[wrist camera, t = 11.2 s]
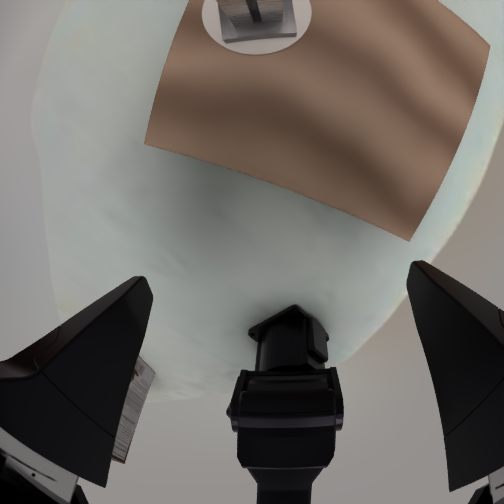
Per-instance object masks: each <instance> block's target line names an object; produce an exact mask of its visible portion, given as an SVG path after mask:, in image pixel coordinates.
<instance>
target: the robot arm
mask: <svg viewBox="0 0 504 504" xmlns="http://www.w3.org/2000/svg"><path fill="white" fill-rule="evenodd" d="M406 286H407V291H408V295H409V299H410V302H411V306H412V311H413V315H414V319H415V323H416V327H417V330H418V333H419V336H420V339H421V343H422V345H423V349H424V352H425V356H426V359H427V363H428V366H429V370H430V373H431V377H432V381H433V385H434V390H435V393H436V398H437V403H438V407H439V412H440V418H441V423H442V429H443V434H444V443H445V450H446V458H447V469H448V481H449V491H450V492H452V491H454V490H456V489H459V488H461V487H464V486H466V485H468V484H471V483H473V482H475V481H477V480H479V479H481V478H483V477H485V476H487V475H488V480H489V483H488V484H486V485H484V486H482V487H481V488H479V489H477V490H476V491H475V493H474V494H473V496H472V498H471V499H470V501H469V503H468V504H504V311H503V310H501V309H498V307H496V306H495V305H494V304H492V303H491V302H489V301H488V300H486V299H485V298H483V297H482V296H480V295H479V294H477V293H476V292H474V291H473V290H471V289H470V288H468V287H466V286H465V285H463V284H462V283H460V282H458V281H457V280H455V279H454V278H452V277H450V276H449V275H447V274H445V273H444V272H442V271H440V270H439V269H437V268H435V267H434V266H432V265H430V264H429V263H427V262H425V261H423V260H420V261H413V262H412V263H411V265H410V269H409V274H408V278H407V283H406ZM152 303H153V294H152V291H151V289H150V287H149V284H148V282H147V279H146V278H145V277H144V276H134V277H132V278H130V279H129V280H127V281H126V282H124V283H123V284H121V285H119V286H118V287H116V288H115V289H113V290H112V291H110V292H109V293H107V294H106V295H104V296H103V297H101V298H100V299H98V300H97V301H95V302H94V303H92V304H91V305H89V306H88V307H86V308H85V309H83V310H82V311H80V312H79V313H77V314H76V315H74V316H73V317H71V318H70V319H68V320H67V321H66V322H64V323H63V324H61V326H58V327H57V328H55V329H54V330H53V331H51V332H50V333H48V334H47V335H45V336H44V337H43V338H41V339H39V340H38V341H36V342H35V343H33V344H32V345H30V346H28V347H27V348H25V349H24V350H22V351H20V352H19V353H17V354H16V355H14V356H13V357H11V358H9V359H7V360H4V361H0V504H89V503H88V501H87V499H86V497H85V495H84V492H83V490H82V488H81V486H79V485H78V484H77V481H78V478H79V477H81V478H83V479H85V480H87V481H90V482H92V483H94V484H96V485H99V486H101V487H104V488H105V487H106V484H107V479H108V473H109V468H110V463H111V458H112V453H113V449H114V444H115V440H116V439H115V438H116V435H117V431H118V427H119V423H120V419H121V415H122V411H123V407H124V403H125V400H126V396H127V393H128V389H129V385H130V382H131V379H132V375H133V372H134V369H135V365H136V362H137V359H138V356H139V353H140V349H141V346H142V343H143V340H144V337H145V333H146V329H147V324H148V320H149V315H150V311H151V307H152ZM293 310H296V311H293ZM248 335H249V336H250V337H251V338H252V339H254V340H255V341H256V342H258V346H257V355H256V365H255V371H247V370H241V373H240V376H238V379H237V382H236V386H235V389H234V392H233V396H232V399H231V403H230V404H229V406H228V408H227V411H226V413H227V416H228V417H229V418H230V419H231V425H232V430H233V431H234V432H238V433H237V434H238V435H237V437H238V438H237V458H238V460H239V462H240V463H241V466H242V467H243V468H247V469H248V470H249V472H250V473H251V475H252V476H253V478H254V479H255V481H256V482H257V484H258V485H257V504H311V489H312V483H313V481H314V480H315V479H316V477H317V476H318V475H319V473H320V472H321V471H322V469H323V468H326V467H327V466H328V465H329V463H330V461H331V460H332V458H333V456H334V451H335V438H336V431H339V430H341V429H342V425H343V417H344V406H343V397H342V392H341V387H340V383H339V378H338V374H337V370H336V367H330V368H327V369H325V362H327V361H328V351H327V341H328V340H329V335H328V334H327V333H326V332H325V329H324V328H323V327H321V326H320V325H319V324H318V323H317V322H316V321H315V320H314V319H313V318H311V317H309V316H308V315H307V314H306V313H305V312H304V311H303V310H302V309H301V308H300V307H298V306H296V305H294V306H291V307H289V308H288V309H286V310H284V311H282V312H281V313H279V314H277V315H275V316H273V317H272V318H270V319H268V320H266V321H264V322H263V323H261V324H259V325H257V326H255V327H253V328H251V329H250V330H249V331H248Z"/></svg>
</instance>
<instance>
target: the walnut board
mask: <svg viewBox="0 0 504 504" xmlns="http://www.w3.org/2000/svg"><path fill="white" fill-rule="evenodd" d="M204 1H205V0H189V2H188V5H187V7H186V9H185V11H184V14H183V16H182V19H181V21H180V24H179V26H178V29H177V31H176V34H175V37H174V39H173V42H172V45H171V48H170V50H169V53H168V56H167V59H166V62H165V65H164V68H163V72H162V75H161V78H160V82H159V85H158V89H157V92H156V96H155V99H154V103H153V107H152V111H151V115H150V119H149V123H148V128H147V132H146V137H145V142H144V144H146V145H149V146H153V147H157V148H161V149H165V150H168V151H172V152H175V153H179V154H183V155H186V156H189V157H193V158H196V159H200V160H203V161H206V162H209V163H213V164H216V165H219V166H222V167H225V168H228V169H231V170H234V171H237V172H240V173H243V174H246V175H249V176H252V177H255V178H258V179H261V180H264V181H266V182H269V183H272V184H275V185H277V186H280V187H283V188H286V189H288V190H291V191H294V192H296V193H299V194H301V195H304V196H306V197H309V198H312V199H314V200H317V201H319V202H322V203H324V204H326V205H329V206H331V207H334V208H336V209H338V210H341V211H343V212H346V213H348V214H350V215H353V216H355V217H357V218H359V219H362V220H364V221H366V222H368V223H371V224H373V225H375V226H377V227H379V228H382V229H384V230H386V231H388V232H390V233H392V234H394V235H396V236H399V237H401V238H403V239H405V240H407V241H410V239H411V238H412V236H413V234H414V233H415V231H416V229H417V228H418V226H419V224H420V222H421V221H422V219H423V217H424V215H425V214H426V212H427V210H428V208H429V206H430V205H431V203H432V201H433V199H434V197H435V195H436V193H437V191H438V189H439V187H440V185H441V183H442V181H443V179H444V177H445V175H446V173H447V171H448V169H449V167H450V165H451V163H452V160H453V158H454V156H455V154H456V151H457V149H458V147H459V144H460V142H461V140H462V137H463V135H464V132H465V130H466V127H467V124H468V122H469V119H470V116H471V114H472V111H473V108H474V105H475V102H476V99H477V96H478V92H479V89H480V86H481V82H482V79H483V75H484V71H485V68H486V64H487V59H488V55H489V50H490V45H489V44H488V43H487V42H486V41H485V40H484V39H483V38H482V37H481V36H480V35H479V34H478V33H477V32H476V31H475V30H473V29H472V28H471V27H470V26H469V25H468V24H467V23H466V22H464V21H463V20H462V19H461V18H460V17H458V16H457V15H456V14H455V13H453V12H452V11H451V10H450V9H448V8H447V7H446V6H444V5H443V4H442V3H440V2H439V1H438V0H309V1H310V4H311V11H312V14H311V20H310V24H309V26H308V28H307V30H306V32H305V33H304V35H303V36H302V37H301V38H300V39H299V40H298V41H297V42H296V43H294V44H293V45H291V46H290V47H288V48H286V49H284V50H281V51H278V52H276V53H271V54H266V55H246V54H241V53H237V52H233V51H231V50H229V49H226V48H225V47H223V46H221V45H220V44H219V43H217V42H216V41H215V40H214V39H213V38H212V37H211V36H210V35H209V34H208V32H207V31H206V29H205V27H204V24H203V20H202V8H203V4H204Z"/></svg>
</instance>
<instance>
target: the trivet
mask: <svg viewBox="0 0 504 504" xmlns="http://www.w3.org/2000/svg"><path fill="white" fill-rule="evenodd" d="M292 3H293V9H294V15H295V21H296V27H297V36H296V37H285V38H270V39H258V40H249V41H241V42H234V43H228V44H226V43H225V42H224V41H223V40H222V33H221V25H220V17H219V10H218V3H217V1H216V0H205V1H204V4H203V8H202V20H203V24H204V27H205V29H206V31H207V32H208V34H209V35H210V36H211V37H212V38H213V39H214V40H215V41H216V42H217V43H219V44H220V45H221V46H223V47H225V48H226V49H229V50H231V51H233V52H237V53H241V54H246V55H266V54H271V53H276V52H278V51H281V50H284V49H286V48H288V47H290V46H291V45H293V44H294V43H296V42H297V41H298V40H299V39H300V38H301V37H302V36H303V35H304V33H305V32H306V30H307V28H308V26H309V24H310V20H311V14H312V11H311V4H310V1H309V0H292Z"/></svg>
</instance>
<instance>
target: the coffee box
mask: <svg viewBox="0 0 504 504" xmlns="http://www.w3.org/2000/svg"><path fill="white" fill-rule="evenodd" d="M154 374H155V373H154V371H153V370H152V369H151V368H150V367H149V366H148V365H147V364H146V363H145V362H144V361H143V360H142V359H141V358H140V357H139V356H138V359H137V362H136V365H135V369H134V372H133V375H132V379H131V382H130V385H129V389H128V393H127V396H126V400H125V403H124V407H123V411H122V415H121V419H120V423H119V427H118V431H117V435H116V438H115V439H116V440H115V444H114V449H113V453H112V458H111V460H114V461H117V462H120V463H123V464H125V460H126V457H127V454H128V451H129V447H130V444H131V441H132V438H133V435H134V432H135V428H136V426H137V423H138V419H139V417H140V414H141V411H142V408H143V405H144V402H145V399H146V396H147V393H148V391H149V388H150V385H151V382H152V380H153V377H154Z"/></svg>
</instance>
